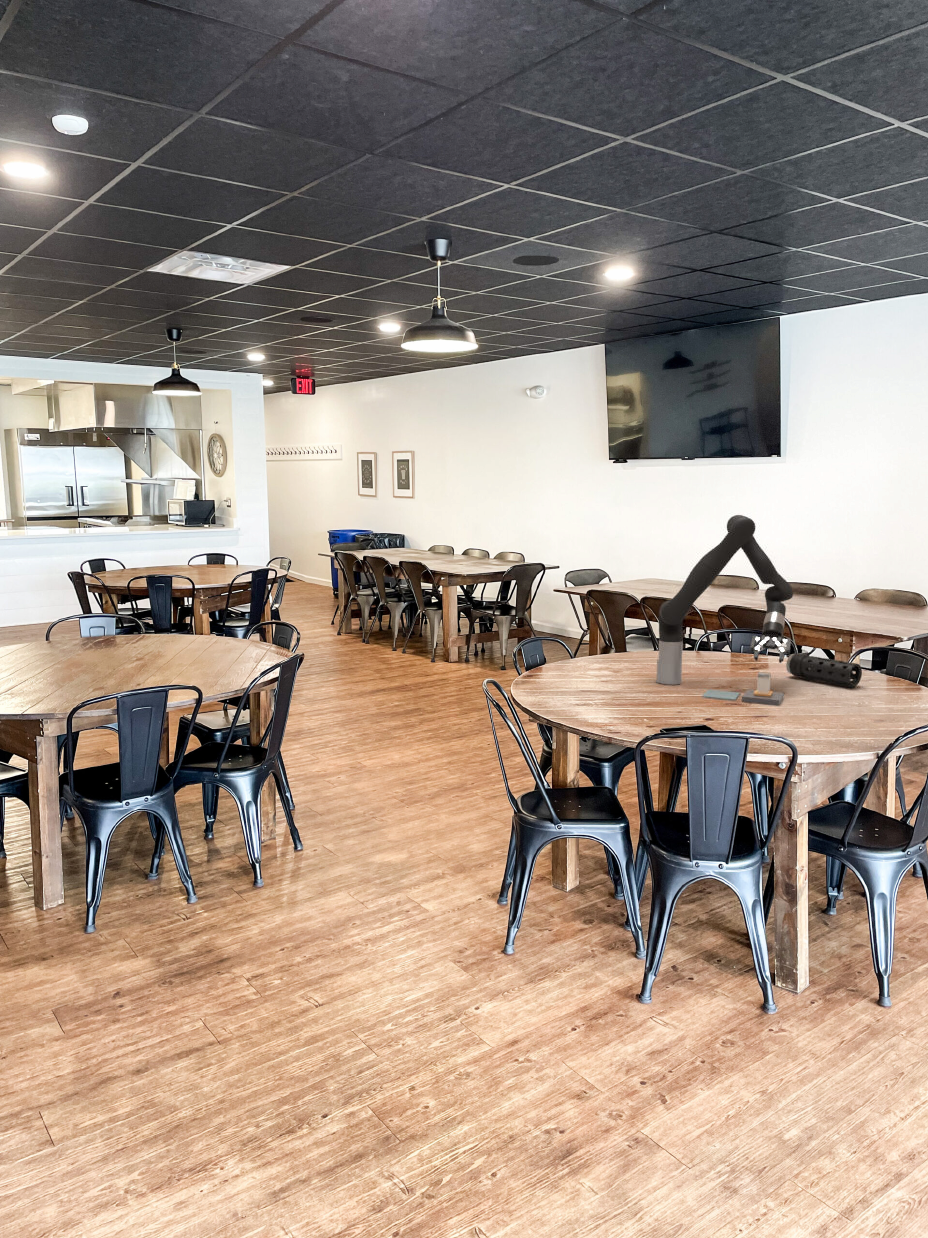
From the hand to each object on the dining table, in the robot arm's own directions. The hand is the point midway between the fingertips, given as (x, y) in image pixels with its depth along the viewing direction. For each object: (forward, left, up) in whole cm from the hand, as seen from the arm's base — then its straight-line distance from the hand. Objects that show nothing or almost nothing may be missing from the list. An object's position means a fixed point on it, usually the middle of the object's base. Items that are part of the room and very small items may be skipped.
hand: (768, 660), depth 327 cm
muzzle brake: (+17, +33, -14) cm, 39 cm away
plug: (0, -9, -13) cm, 16 cm away
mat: (-15, -9, -13) cm, 22 cm away
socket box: (0, -9, -13) cm, 16 cm away
